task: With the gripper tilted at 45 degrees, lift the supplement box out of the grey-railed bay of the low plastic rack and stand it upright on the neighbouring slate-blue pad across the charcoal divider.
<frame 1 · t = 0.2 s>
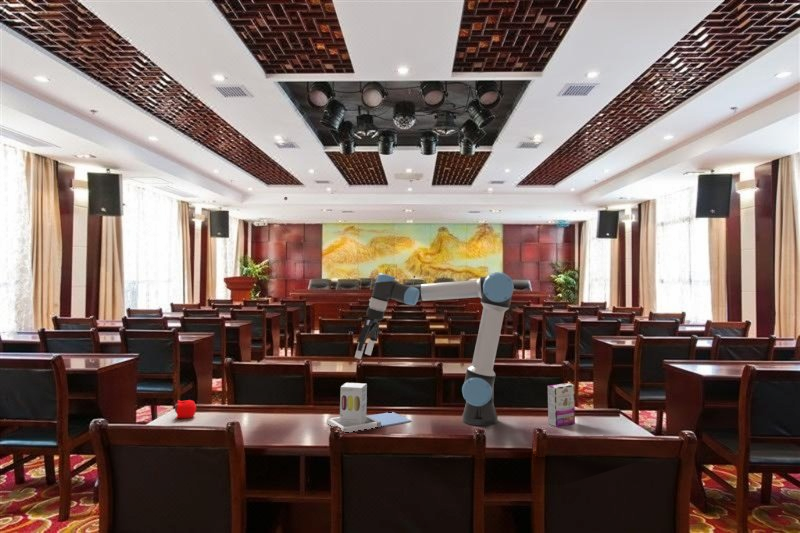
hand: (362, 356, 206), 28 cm above the table, tool tilted 15°, fingers open, 13 cm apart
bay rack: (370, 422, 204), on the table
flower: (186, 417, 211), on the table
candy bar box: (561, 424, 204), on the table
supplement box: (353, 425, 200), resting in bay rack
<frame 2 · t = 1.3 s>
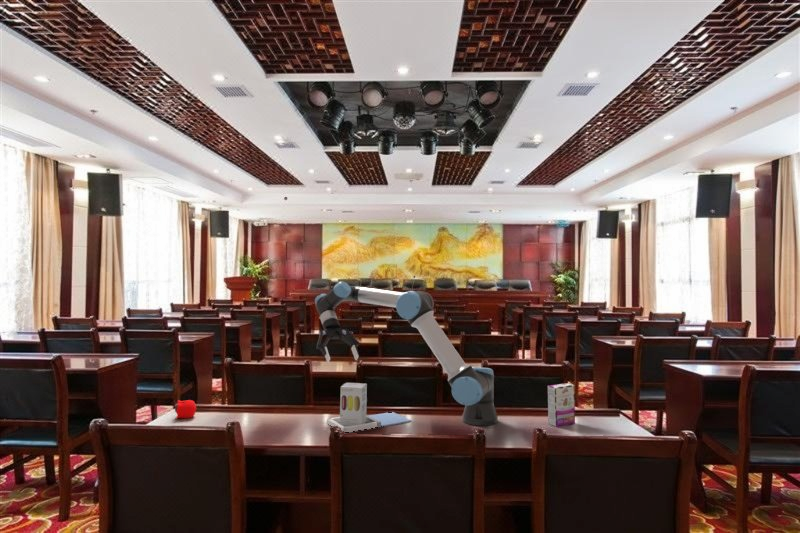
hand: (343, 359, 210), 26 cm above the table, tool tilted 45°, fingers open, 13 cm apart
nothing on the table moved.
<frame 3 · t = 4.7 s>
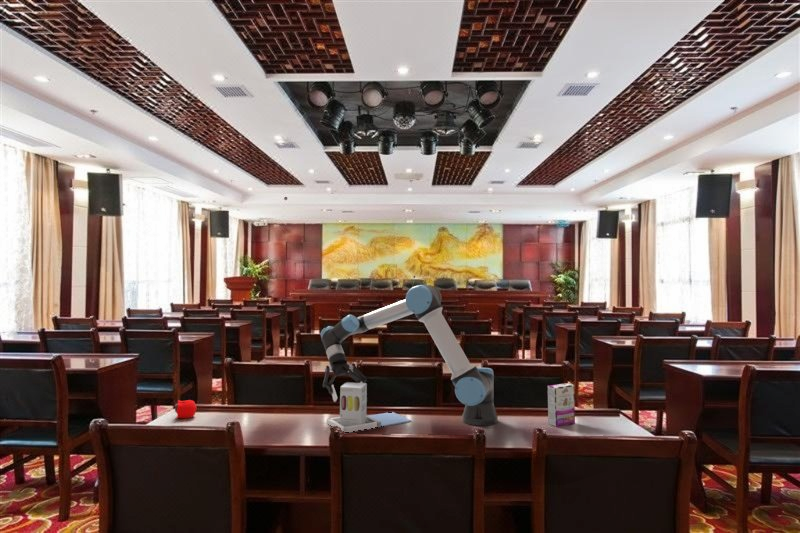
hand: (350, 398, 202), 11 cm above the table, tool tilted 45°, fingers open, 13 cm apart
supplement box: (353, 425, 200), resting in bay rack, touching gripper
everything else where it was.
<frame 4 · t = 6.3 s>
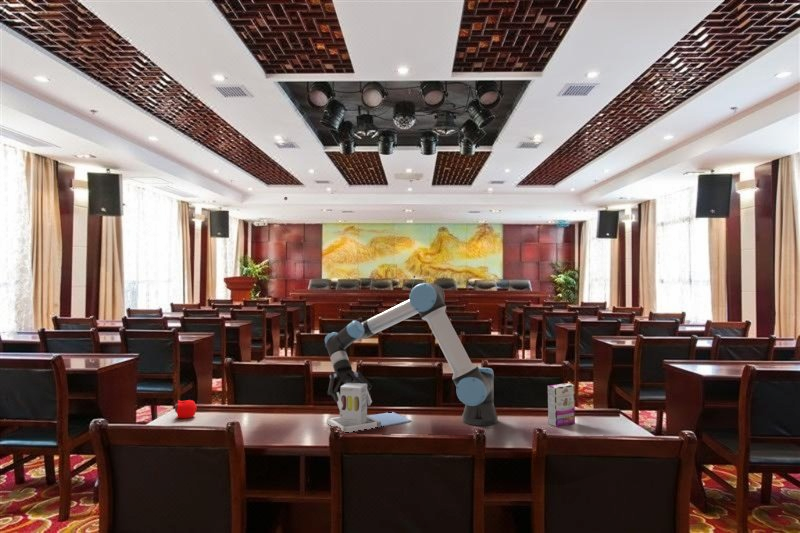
hand: (356, 405, 198), 9 cm above the table, tool tilted 45°, fingers closed on supplement box, 13 cm apart
supplement box: (353, 425, 200), resting in bay rack, touching gripper
everything else where it was.
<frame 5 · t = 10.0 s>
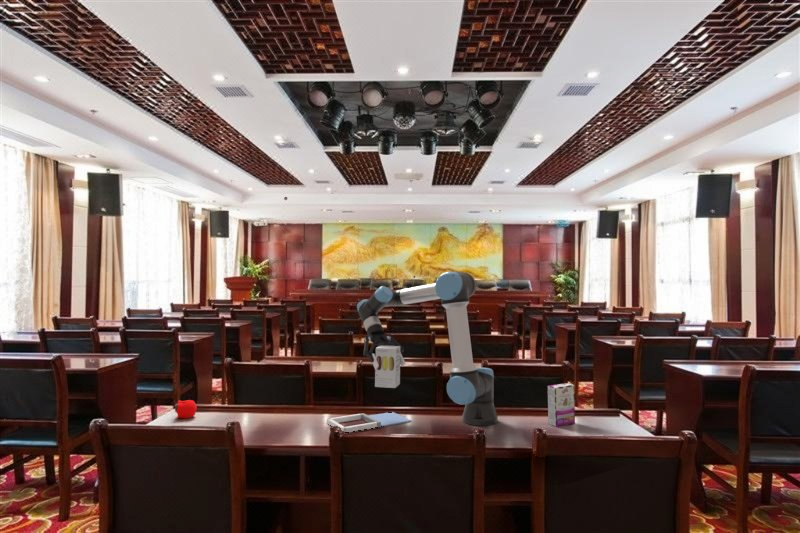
hand: (390, 366, 207), 23 cm above the table, tool tilted 45°, fingers closed on supplement box, 13 cm apart
supplement box: (387, 385, 209), point 15 cm above the table, touching gripper
everything else where it was.
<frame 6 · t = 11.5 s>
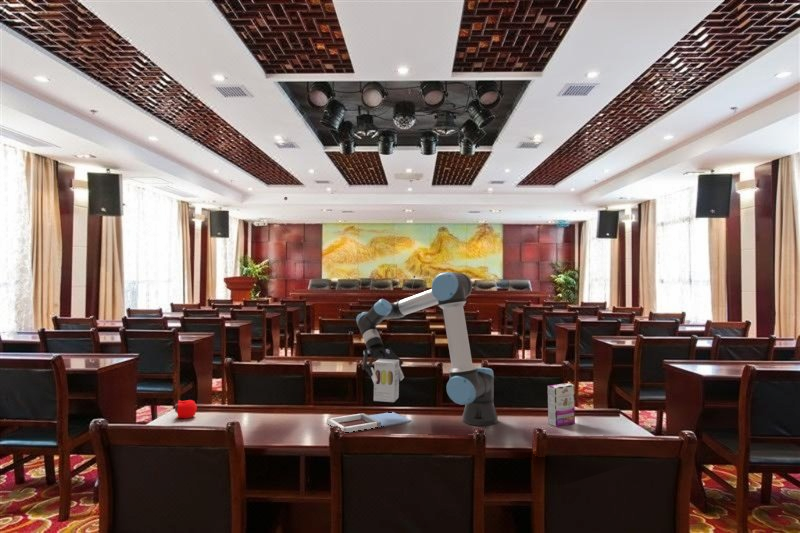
hand: (389, 380, 208), 17 cm above the table, tool tilted 45°, fingers closed on supplement box, 13 cm apart
supplement box: (386, 399, 209), point 9 cm above the table, touching gripper
everything else where it was.
when the fingers open (10 cm above the table, at t = 13.9 s): supplement box stays where it is, resting on bay rack.
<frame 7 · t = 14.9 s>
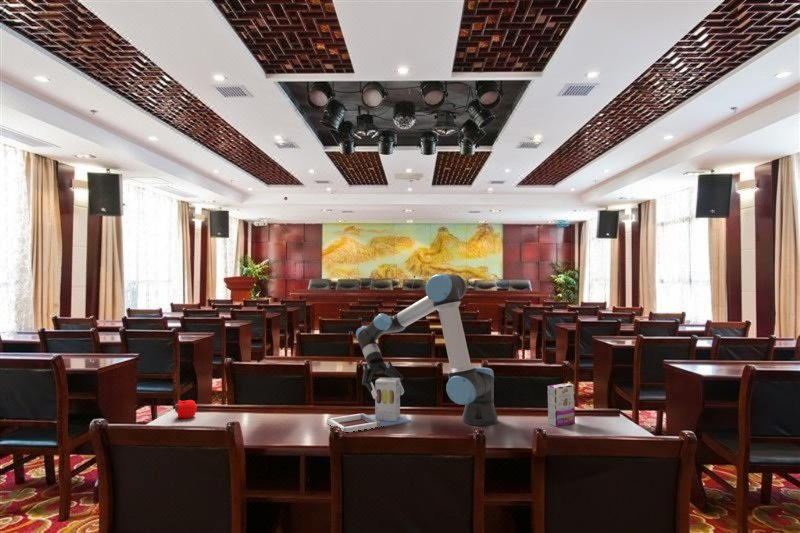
hand: (389, 395, 208), 11 cm above the table, tool tilted 45°, fingers open, 13 cm apart
supplement box: (387, 418, 209), resting on bay rack, touching gripper
everything else where it was.
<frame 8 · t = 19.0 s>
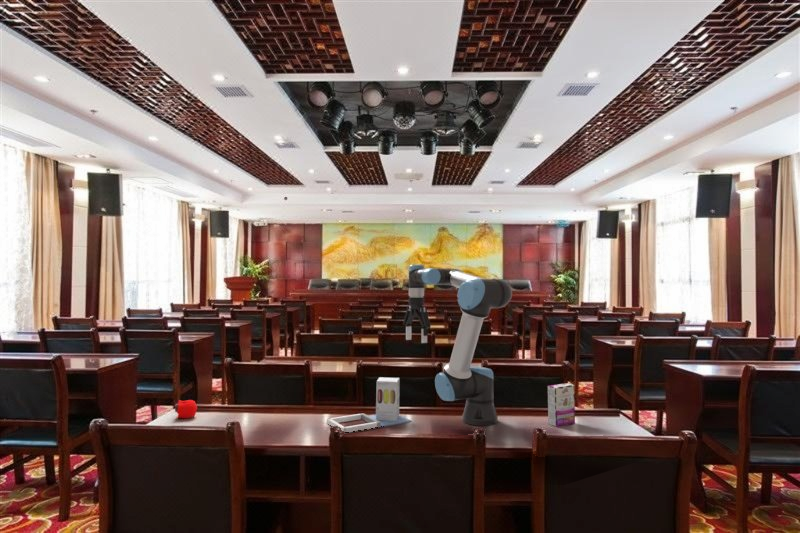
hand: (416, 341, 230), 32 cm above the table, tool pointing down, fingers open, 13 cm apart
supplement box: (387, 418, 209), resting on bay rack
everything else where it was.
at the end: supplement box inside the target area (0.5 cm from its centre), resting on bay rack; supplement box tilted 0°; the gripper is holding nothing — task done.
